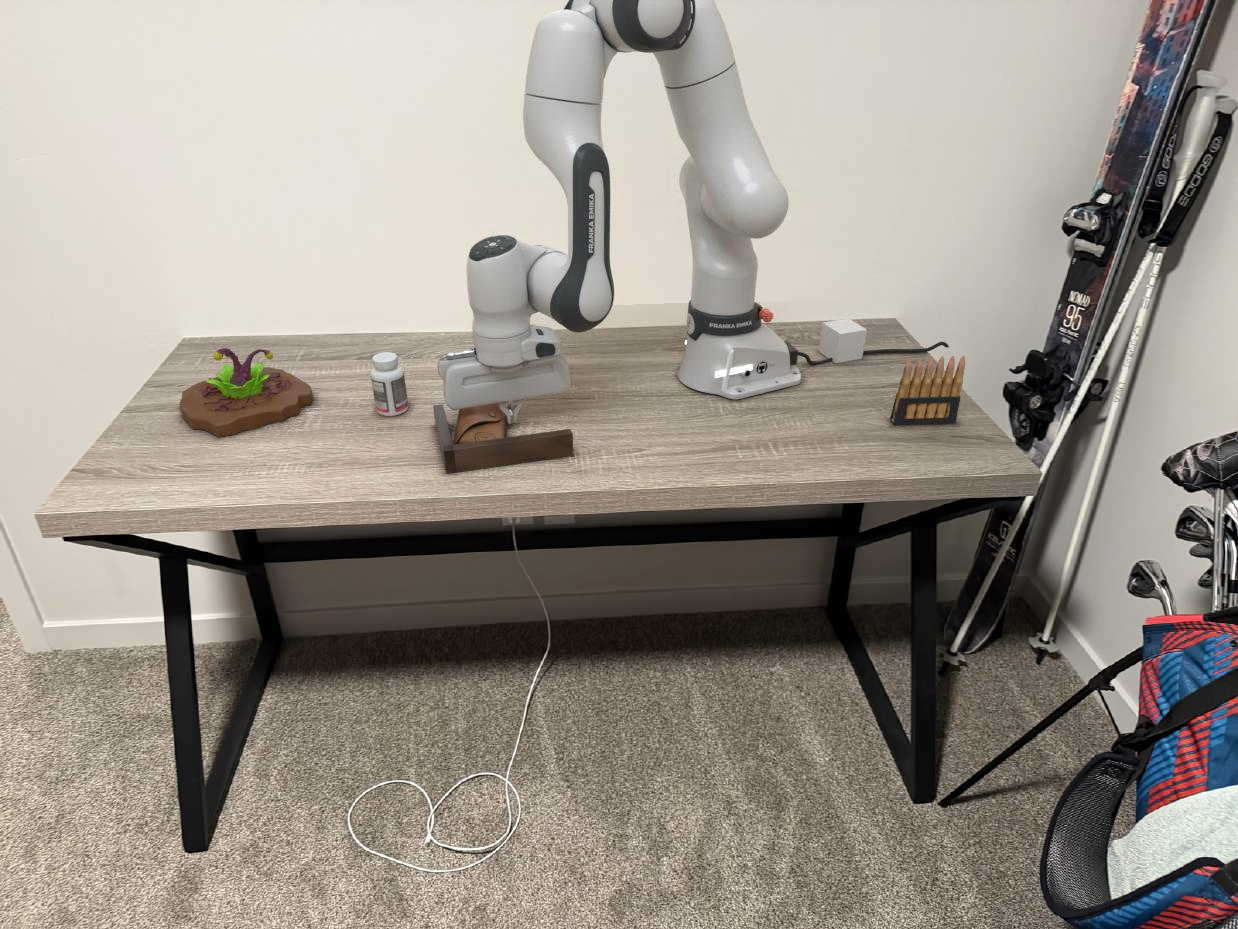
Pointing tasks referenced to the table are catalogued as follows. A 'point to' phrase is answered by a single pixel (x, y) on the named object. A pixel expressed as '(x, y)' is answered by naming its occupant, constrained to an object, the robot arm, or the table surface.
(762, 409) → the table surface
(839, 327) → the white cube
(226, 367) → the plant
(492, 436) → the sunglasses case
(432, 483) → the table surface
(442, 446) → the bracket
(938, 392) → the ammunition clip
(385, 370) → the pill bottle
